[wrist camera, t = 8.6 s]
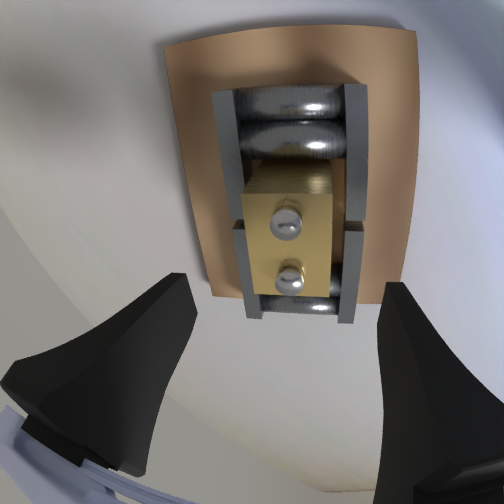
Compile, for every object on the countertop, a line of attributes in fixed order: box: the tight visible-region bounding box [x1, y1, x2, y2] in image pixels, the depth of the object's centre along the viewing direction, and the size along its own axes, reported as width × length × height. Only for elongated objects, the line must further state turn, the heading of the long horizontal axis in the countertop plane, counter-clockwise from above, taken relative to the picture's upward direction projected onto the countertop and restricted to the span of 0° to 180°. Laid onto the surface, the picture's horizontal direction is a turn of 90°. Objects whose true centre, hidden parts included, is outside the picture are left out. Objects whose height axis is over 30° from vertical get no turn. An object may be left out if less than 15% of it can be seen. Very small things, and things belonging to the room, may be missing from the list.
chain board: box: [164, 25, 420, 304], centre depth 16 cm, size 13×17×1 cm
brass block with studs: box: [240, 159, 333, 297], centre depth 14 cm, size 4×5×6 cm
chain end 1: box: [211, 83, 369, 221], centre depth 14 cm, size 7×7×2 cm
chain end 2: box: [232, 214, 365, 324], centre depth 18 cm, size 7×7×2 cm
